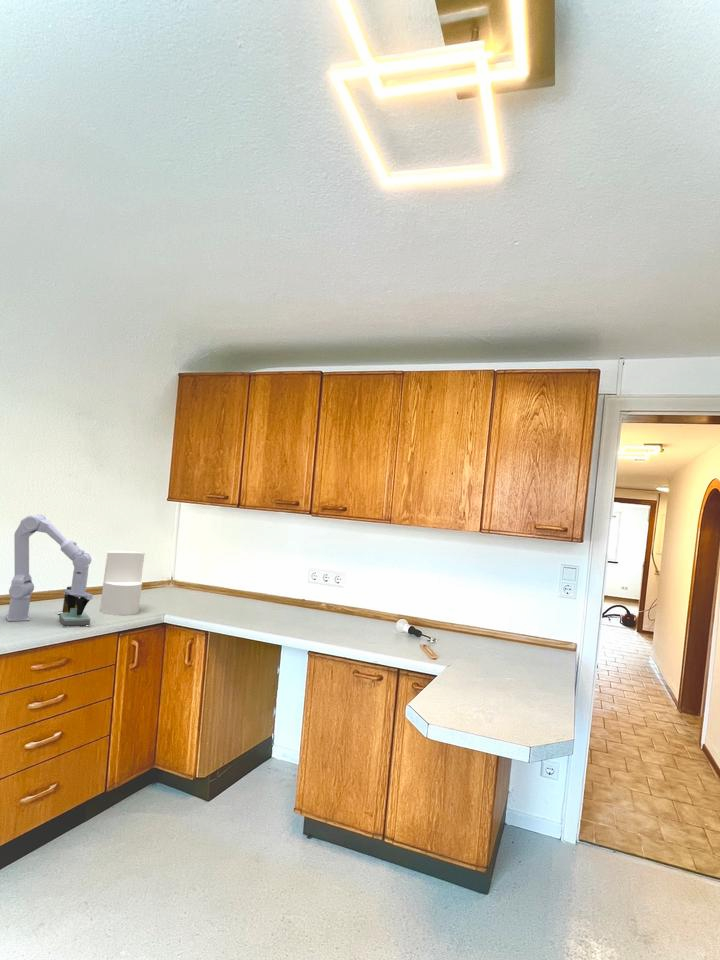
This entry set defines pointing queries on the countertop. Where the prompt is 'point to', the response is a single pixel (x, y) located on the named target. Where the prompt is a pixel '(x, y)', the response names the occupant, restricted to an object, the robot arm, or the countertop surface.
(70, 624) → the grey tray
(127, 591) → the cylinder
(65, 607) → the condiment
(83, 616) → the lid
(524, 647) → the countertop surface
